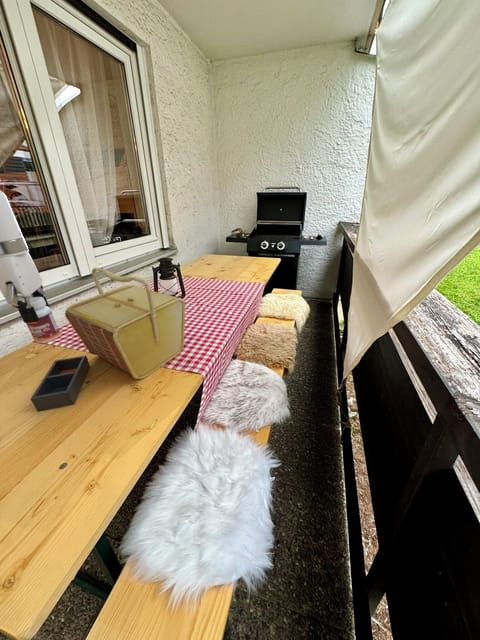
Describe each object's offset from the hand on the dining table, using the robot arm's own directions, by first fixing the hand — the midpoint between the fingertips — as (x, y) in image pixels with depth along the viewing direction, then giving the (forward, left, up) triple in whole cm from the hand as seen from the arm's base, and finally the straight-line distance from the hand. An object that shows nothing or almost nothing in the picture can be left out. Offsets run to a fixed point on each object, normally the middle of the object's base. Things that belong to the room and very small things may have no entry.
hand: (38, 315), depth 69 cm
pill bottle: (0, 0, -7) cm, 7 cm away
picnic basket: (+20, +9, -24) cm, 32 cm away
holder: (0, -2, -23) cm, 23 cm away
